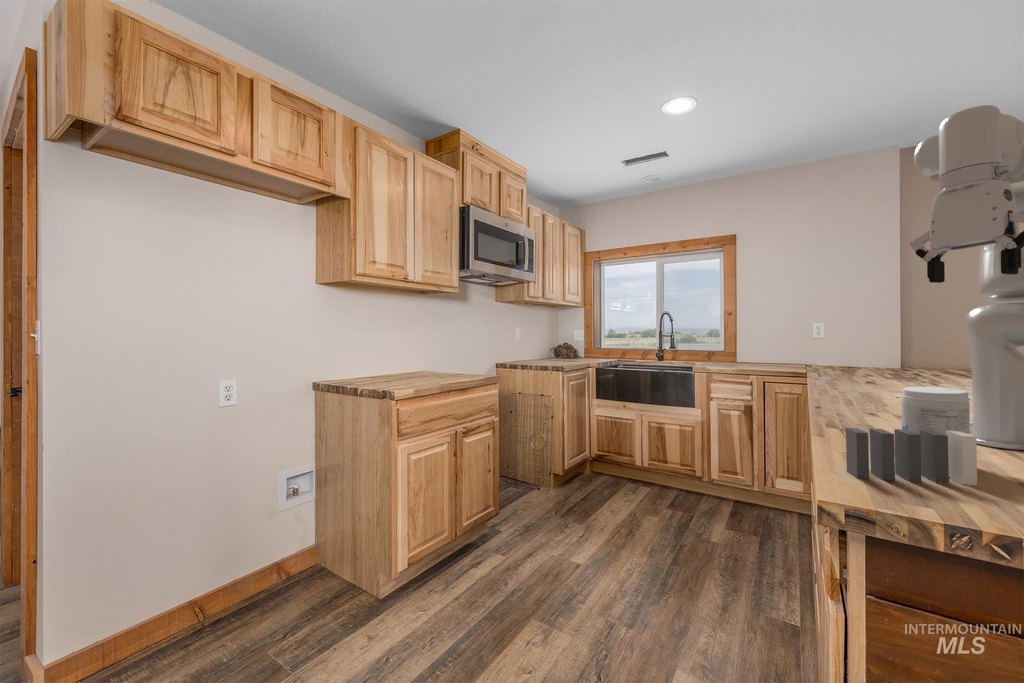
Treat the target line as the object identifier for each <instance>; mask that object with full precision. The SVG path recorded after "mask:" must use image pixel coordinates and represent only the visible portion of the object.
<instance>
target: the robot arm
mask: <svg viewBox="0 0 1024 683" xmlns="http://www.w3.org/2000/svg"><path fill="white" fill-rule="evenodd" d="M913 163H914V167H915V168H916V171H917V172H918V173H919V175H920V176H921V177H923V179H926V180H928V181H931V182H939V194H937V196H936V195H935V198H934V201H933V205H932V209H931V213H930V214H931V215H930V220H929V221H930V222H929V223H930V224H929V230H928V231H926V232H925V233H924V234H922V235H920V236H919V237H917V238H916V239H914V240H912V241H911V242H910V243H909V244H910V245H909V246H910V247H911V249H912V250H913V251H914V253H915V255H917V257H919V258H920V259H922V260H923V261H924V262H926V263H927V264H926V265H927V268H926V269H927V272H926V273H927V279H928V281H929V283H933V284H935V283H936V284H937V283H938V284H940V283H944V282H945V280H946V279H945V278H946V277H945V276H946V275H945V274H946V273H945V271H946V270H945V261H943V260H942V259H943V258H944V257H945V256H946V255H947V254H948V252H949V251H957V250H964V249H969V248H976V247H977V249H978V254H979V257H978V258H979V259H978V272H977V293H978V296H979V298H981V300H983V301H985V302H987V303H988V302H989V303H993V304H986V305H981V306H978V307H975V308H973V309H971V310H970V311H969V312H968V313H967V314H966V316H965V318H964V320H965V321H964V323H965V324H964V326H965V330H966V335H967V339H968V342H969V343H968V344H969V349H970V357H971V358H970V359H971V384H972V386H971V389H972V394H971V395H972V420H970V427H972V432H971V431H970V435H973V436H976V445H981V446H986V447H993V448H997V449H999V448H1000V449H1007V450H1018V451H1019V450H1020V451H1024V353H1023V352H1022V351H1020V350H1019V349H1018V348H1019V347H1024V230H1022V231H1021V232H1020V226H1019V225H1020V223H1021V224H1024V183H1021V182H1024V121H1023V120H1021V119H1020V120H1019V119H1018V118H1017V117H1016V116H1014V115H1010V114H1007V113H1002V112H1001V110H1000V108H999V107H997V106H996V105H988V104H987V105H986V104H985V105H977V106H973V107H968V108H966V109H962V110H959V111H957V112H954V113H953V114H951V115H949V116H947V117H946V118H944V120H943V121H942V122H941V123H940V125H939V128H938V134H935V135H932V136H929V137H927V138H925V139H923V140H922V141H921V142H920V143H919V144H918V145H917V147H916V148H915V151H914V154H913ZM1015 183H1021V184H1016V185H1011V184H1015ZM926 243H929V245H930V247H931V248H930V250H928V249H927V248H926V247H925V244H926Z"/></svg>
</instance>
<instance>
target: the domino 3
mask: <svg viewBox="0 0 1024 683" xmlns="http://www.w3.org/2000/svg"><path fill="white" fill-rule="evenodd" d="M893 430H894V456H895V475H896V474H897V475H896V476H898V475H899V477H900V476H901V477H900V478H901V479H903V478H904V479H903V480H905V479H906V480H905V481H907V480H908V481H907V482H909V481H917V482H916V483H922V476H921V435H920V434H917V433H915V432H912V431H909V430H907V429H902V428H899V429H898V428H894V429H893Z"/></svg>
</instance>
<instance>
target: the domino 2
mask: <svg viewBox="0 0 1024 683" xmlns="http://www.w3.org/2000/svg"><path fill="white" fill-rule="evenodd" d="M869 452H870V453H869V458H870V459H869V464H870V474H872V475H874V476H875V477H877V478H878V479H880V480H881V481H888V482H889V481H890V480H891V481H892V482H894V481H895V482H896V474H895V433H892V432H890V431H887V430H885V429H882V428H869Z"/></svg>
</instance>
